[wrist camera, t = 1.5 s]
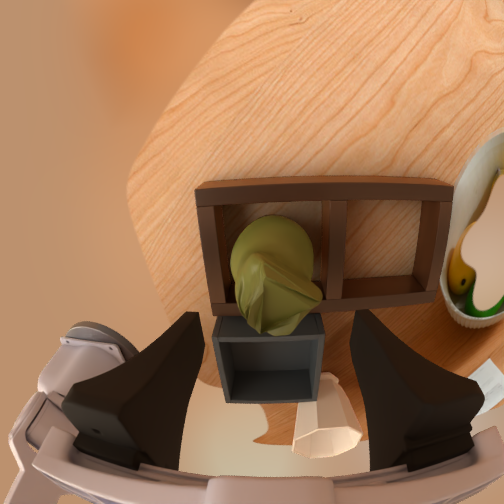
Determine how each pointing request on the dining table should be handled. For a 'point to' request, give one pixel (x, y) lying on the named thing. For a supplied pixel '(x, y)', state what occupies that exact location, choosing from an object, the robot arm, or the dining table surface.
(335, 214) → the rack
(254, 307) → the olive cloth sack
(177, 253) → the dining table surface
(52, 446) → the robot arm
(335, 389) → the cup
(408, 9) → the dining table surface
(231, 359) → the tub
